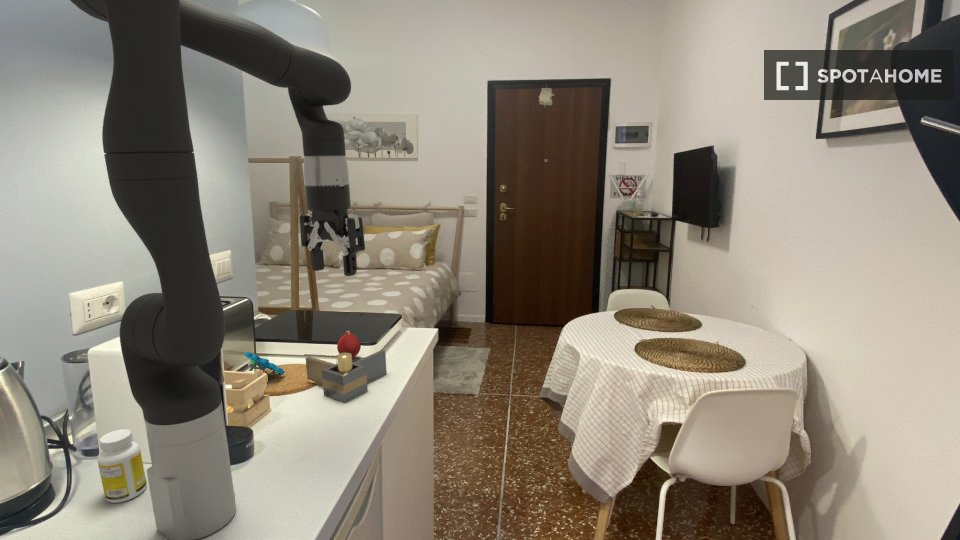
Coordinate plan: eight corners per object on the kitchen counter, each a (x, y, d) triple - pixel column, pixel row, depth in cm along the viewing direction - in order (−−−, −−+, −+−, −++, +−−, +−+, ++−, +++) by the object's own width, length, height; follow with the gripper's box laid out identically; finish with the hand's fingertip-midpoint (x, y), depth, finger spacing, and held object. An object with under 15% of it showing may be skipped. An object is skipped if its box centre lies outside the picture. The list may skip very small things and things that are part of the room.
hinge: (344, 403, 107) (342, 376, 106) (297, 386, 115) (295, 361, 114) (395, 376, 120) (394, 352, 118) (349, 363, 128) (347, 341, 127)
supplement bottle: (140, 477, 82) (130, 422, 80) (152, 490, 79) (142, 433, 77) (100, 494, 78) (89, 437, 76) (111, 509, 75) (100, 449, 73)
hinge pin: (346, 397, 109) (344, 358, 107) (336, 394, 111) (334, 355, 109) (356, 392, 112) (354, 354, 110) (347, 389, 113) (344, 351, 111)
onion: (336, 358, 132) (334, 328, 130) (358, 354, 134) (356, 325, 132) (340, 366, 127) (338, 335, 125) (363, 361, 129) (361, 332, 127)
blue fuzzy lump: (293, 372, 119) (258, 351, 113) (279, 395, 117) (243, 375, 111) (272, 366, 127) (239, 346, 121) (259, 387, 124) (224, 368, 119)
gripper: (283, 183, 90) (292, 272, 93) (338, 184, 82) (345, 281, 85) (317, 181, 96) (324, 265, 99) (371, 182, 88) (377, 273, 92)
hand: (334, 272), depth 92 cm, fingers open, 8 cm apart
